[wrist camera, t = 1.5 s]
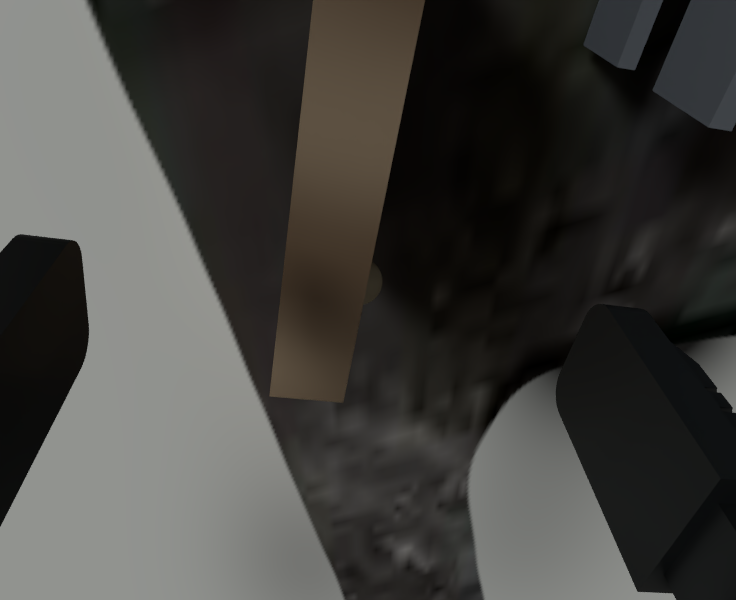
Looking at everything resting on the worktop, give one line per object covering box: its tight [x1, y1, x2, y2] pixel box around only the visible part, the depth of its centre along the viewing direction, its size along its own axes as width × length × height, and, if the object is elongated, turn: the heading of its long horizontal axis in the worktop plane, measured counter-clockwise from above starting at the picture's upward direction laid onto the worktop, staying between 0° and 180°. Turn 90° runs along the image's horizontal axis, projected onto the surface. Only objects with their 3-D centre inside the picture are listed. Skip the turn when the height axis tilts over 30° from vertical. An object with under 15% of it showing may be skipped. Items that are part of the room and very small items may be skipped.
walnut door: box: [270, 0, 425, 403], centre depth 18 cm, size 12×3×11 cm, turn 170°
